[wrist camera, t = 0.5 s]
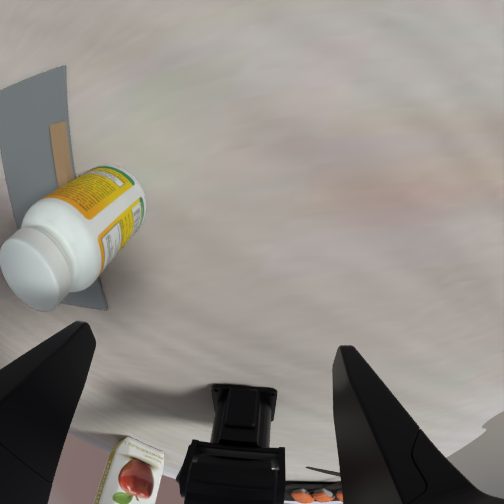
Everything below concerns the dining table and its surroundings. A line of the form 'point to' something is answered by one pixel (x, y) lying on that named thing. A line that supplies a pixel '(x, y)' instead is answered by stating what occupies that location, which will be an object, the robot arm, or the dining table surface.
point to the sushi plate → (314, 490)
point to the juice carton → (131, 474)
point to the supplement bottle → (72, 236)
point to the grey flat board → (40, 152)
